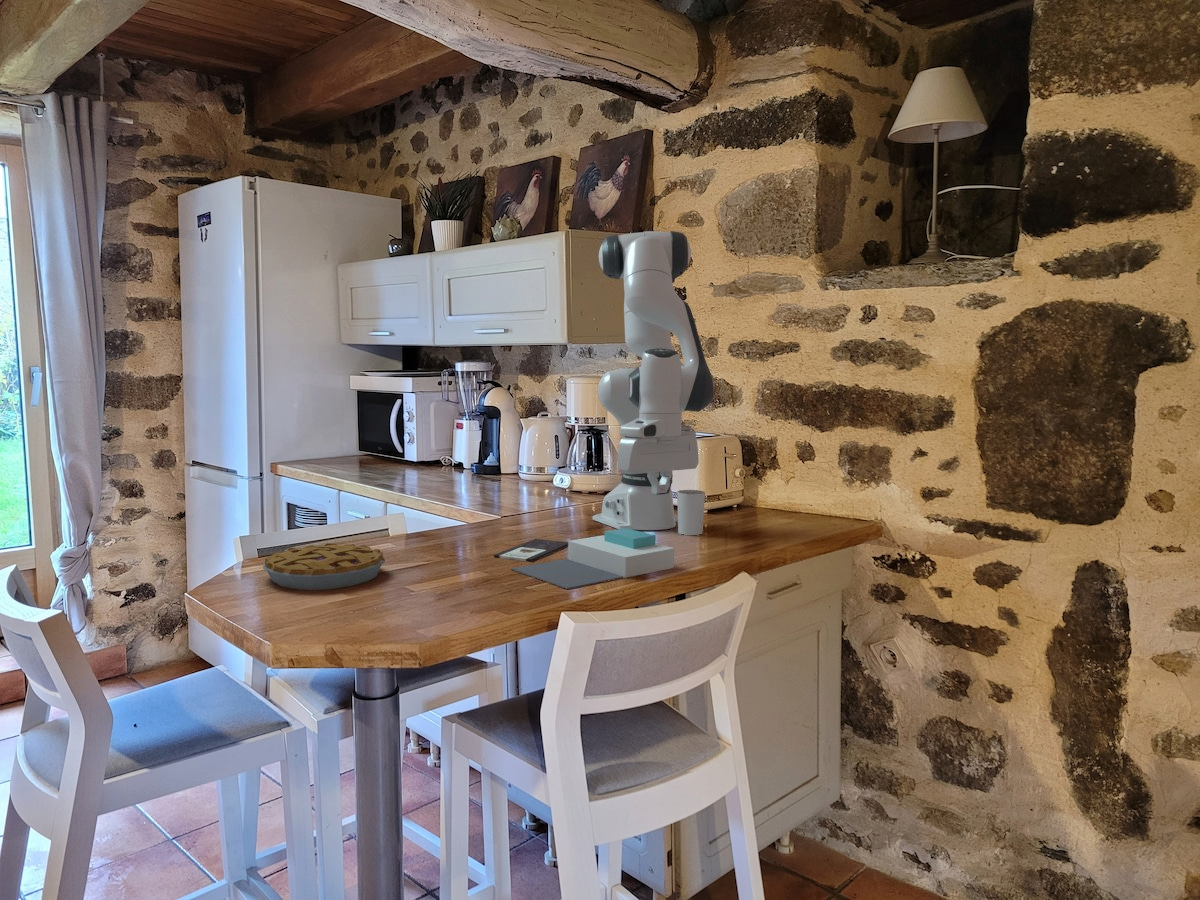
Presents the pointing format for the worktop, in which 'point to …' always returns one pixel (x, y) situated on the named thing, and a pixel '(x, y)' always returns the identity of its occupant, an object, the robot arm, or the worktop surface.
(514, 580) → the worktop surface
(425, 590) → the worktop surface
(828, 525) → the worktop surface
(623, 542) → the teal block
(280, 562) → the pie
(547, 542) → the chocolate bar
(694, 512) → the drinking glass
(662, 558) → the grey flat block
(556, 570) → the mat
